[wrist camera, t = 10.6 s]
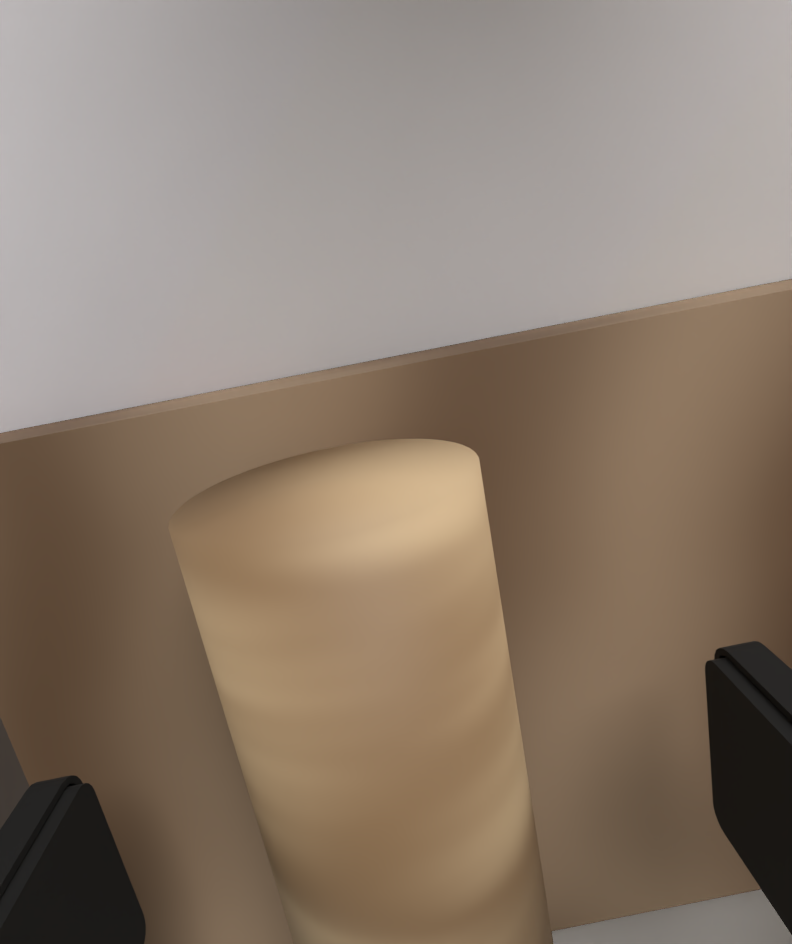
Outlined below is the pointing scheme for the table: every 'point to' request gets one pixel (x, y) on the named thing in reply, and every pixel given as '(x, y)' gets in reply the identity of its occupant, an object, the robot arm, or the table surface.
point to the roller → (370, 692)
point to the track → (519, 578)
